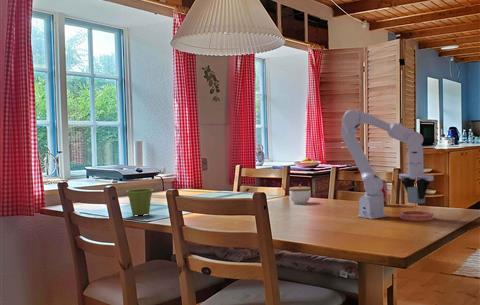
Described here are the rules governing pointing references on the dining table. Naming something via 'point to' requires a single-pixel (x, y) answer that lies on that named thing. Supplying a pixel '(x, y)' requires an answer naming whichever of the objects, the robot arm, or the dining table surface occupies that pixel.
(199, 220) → the dining table surface
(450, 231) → the dining table surface
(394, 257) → the dining table surface
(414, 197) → the slate block
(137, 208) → the plant pot
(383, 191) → the soda can
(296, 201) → the lidded jar
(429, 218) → the terracotta dish
